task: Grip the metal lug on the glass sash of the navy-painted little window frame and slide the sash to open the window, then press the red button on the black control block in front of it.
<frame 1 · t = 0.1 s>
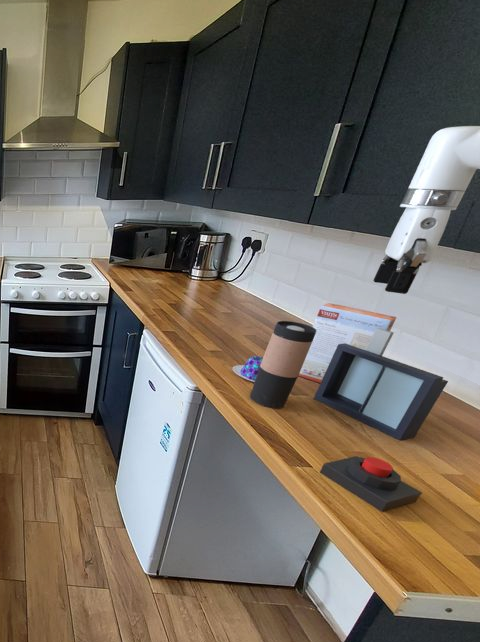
hand: (388, 287, 84), 31 cm above the worktop, tool pointing down, fingers open, 9 cm apart
control block: (365, 486, 73), on the worktop
button: (376, 467, 71), point 4 cm above the worktop, slide at 0.1 cm
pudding: (256, 377, 112), on the worktop
sash: (366, 367, 94), point 11 cm above the worktop, slide at 0.0 cm
travel mug: (266, 401, 100), on the worktop
window frame: (360, 416, 95), on the worktop
cracker box: (325, 382, 111), on the worktop
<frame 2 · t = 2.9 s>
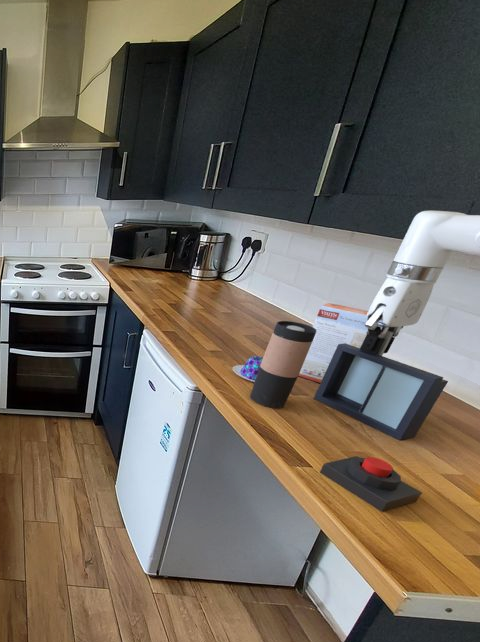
hand: (373, 350, 92), 15 cm above the worktop, tool pointing down, fingers closed
nothing on the worktop moved.
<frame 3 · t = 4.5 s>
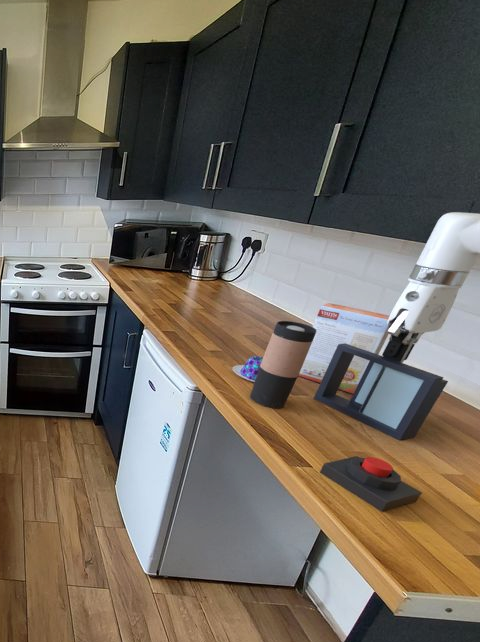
hand: (393, 357, 89), 15 cm above the worktop, tool pointing down, fingers closed
sash: (385, 374, 90), point 11 cm above the worktop, slide at 3.8 cm, touching gripper
everything else where it was.
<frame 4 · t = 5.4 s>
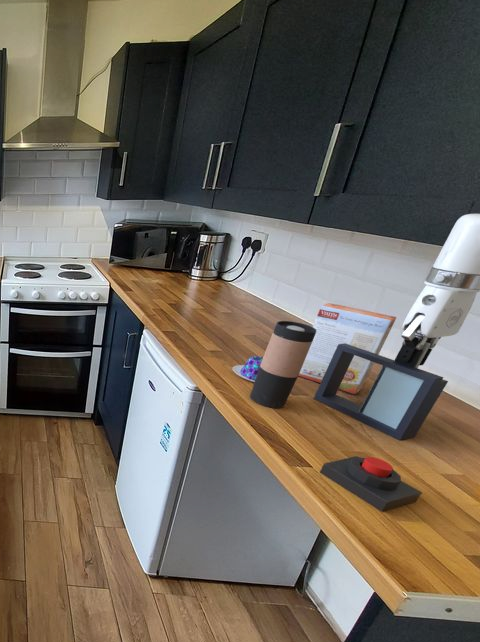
hand: (408, 362, 87), 15 cm above the worktop, tool pointing down, fingers closed
sash: (400, 380, 88), point 11 cm above the worktop, slide at 6.4 cm
everything else where it was.
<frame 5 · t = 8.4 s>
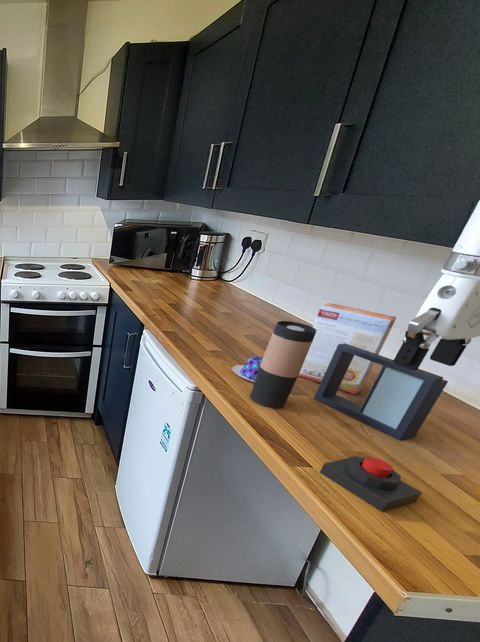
hand: (422, 364, 70), 22 cm above the worktop, tool pointing down, fingers open, 9 cm apart
nothing on the worktop moved.
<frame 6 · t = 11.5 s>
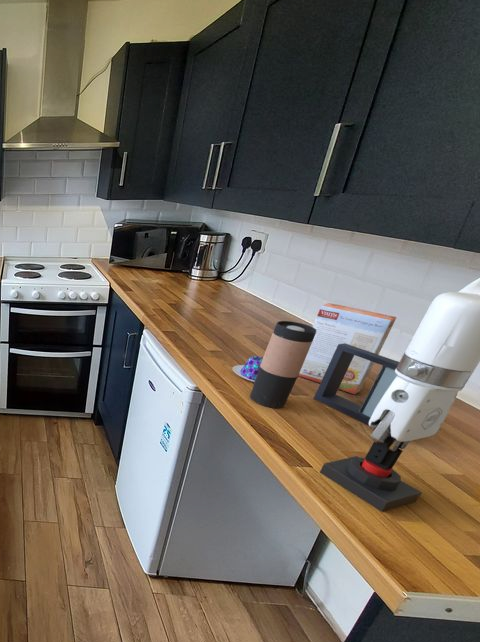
hand: (377, 463, 71), 5 cm above the worktop, tool pointing down, fingers closed
button: (376, 467, 71), point 4 cm above the worktop, slide at -0.1 cm, touching gripper
everything else where it was.
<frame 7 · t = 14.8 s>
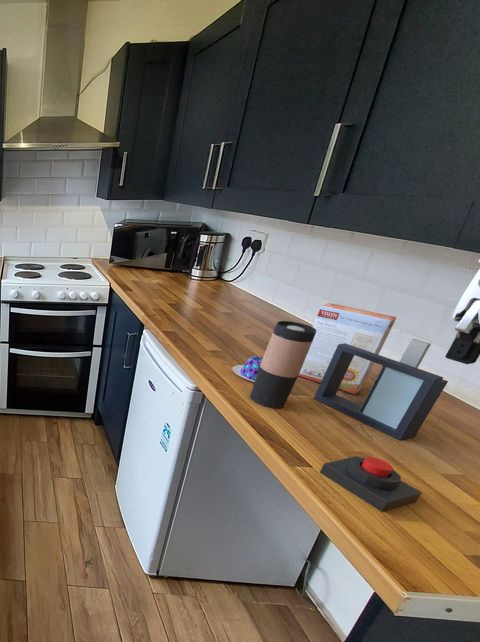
hand: (459, 360, 71), 22 cm above the worktop, tool pointing down, fingers closed
button: (376, 467, 71), point 4 cm above the worktop, slide at 0.1 cm
everything else where it was.
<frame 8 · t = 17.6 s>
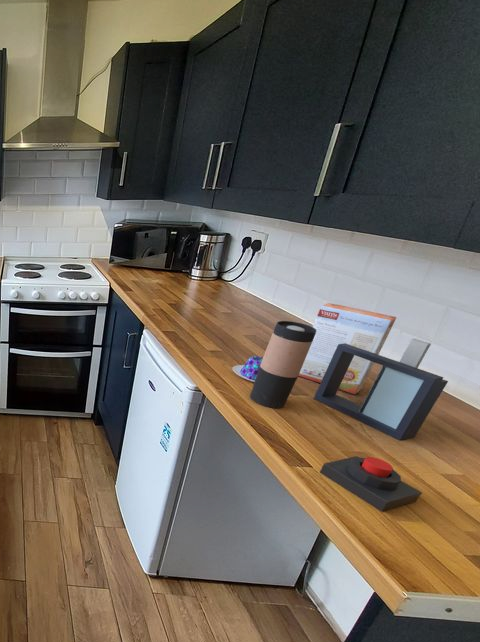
nothing on the worktop moved.
at the end: sash slide at 6.4 cm; button pushed in 1.1 cm at the most during the clip, back to where it started at the end; button slide at 0.1 cm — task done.
